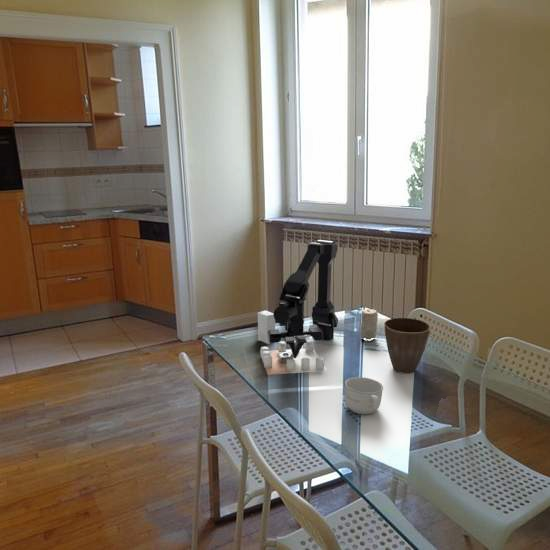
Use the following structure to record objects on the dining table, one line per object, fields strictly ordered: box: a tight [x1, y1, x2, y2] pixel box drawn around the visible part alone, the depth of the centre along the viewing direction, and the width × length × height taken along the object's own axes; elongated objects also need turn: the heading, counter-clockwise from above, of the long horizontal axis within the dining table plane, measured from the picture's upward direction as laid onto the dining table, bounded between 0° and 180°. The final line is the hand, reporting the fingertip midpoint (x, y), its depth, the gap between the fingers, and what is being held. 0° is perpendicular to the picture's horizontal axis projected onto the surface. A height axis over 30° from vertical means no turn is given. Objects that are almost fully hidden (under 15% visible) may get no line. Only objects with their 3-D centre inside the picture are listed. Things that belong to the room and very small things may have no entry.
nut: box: [278, 352, 293, 364], centre depth 178 cm, size 4×4×2 cm
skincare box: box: [257, 309, 276, 345], centre depth 196 cm, size 6×4×12 cm
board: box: [259, 339, 328, 376], centre depth 179 cm, size 20×20×4 cm
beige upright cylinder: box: [359, 308, 379, 339], centre depth 201 cm, size 6×8×12 cm
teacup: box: [344, 376, 384, 415], centre depth 146 cm, size 14×11×8 cm
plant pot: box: [383, 317, 431, 374], centre depth 174 cm, size 15×15×16 cm
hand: (294, 357), depth 179 cm, fingers closed
